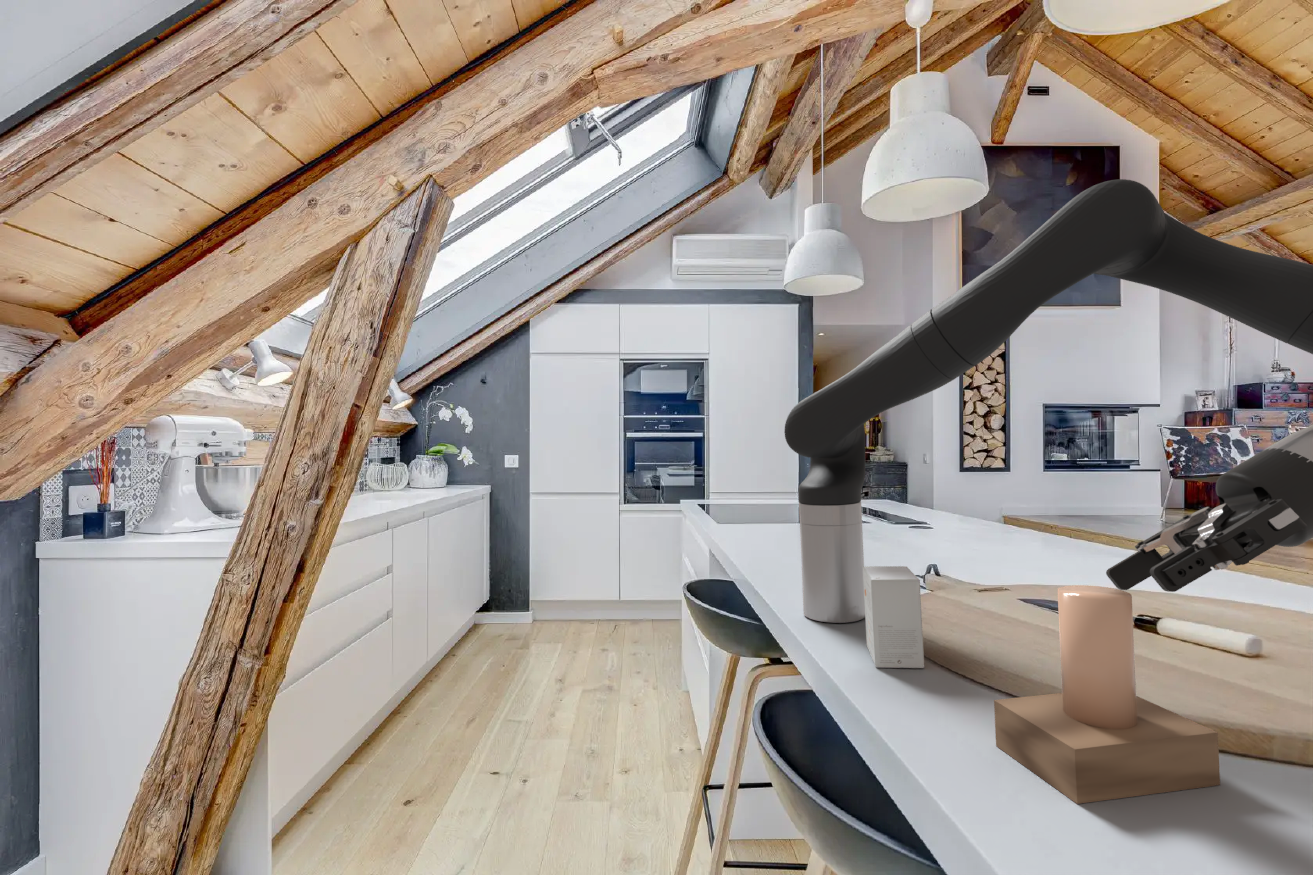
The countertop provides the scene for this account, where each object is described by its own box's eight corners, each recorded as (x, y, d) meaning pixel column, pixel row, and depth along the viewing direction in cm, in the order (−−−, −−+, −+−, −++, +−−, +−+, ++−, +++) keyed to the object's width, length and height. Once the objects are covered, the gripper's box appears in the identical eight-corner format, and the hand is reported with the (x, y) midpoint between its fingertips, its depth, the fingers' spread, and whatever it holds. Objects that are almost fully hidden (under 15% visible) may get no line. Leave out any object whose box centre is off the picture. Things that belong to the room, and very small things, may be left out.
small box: (925, 670, 74) (921, 579, 74) (874, 668, 75) (870, 579, 75) (911, 647, 82) (908, 565, 82) (866, 646, 83) (862, 565, 83)
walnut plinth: (996, 745, 56) (993, 699, 56) (1118, 731, 57) (1116, 686, 57) (1077, 803, 47) (1074, 749, 47) (1220, 784, 48) (1217, 732, 48)
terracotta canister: (1048, 705, 54) (1043, 587, 54) (1101, 699, 55) (1096, 583, 55) (1096, 731, 49) (1090, 602, 49) (1154, 725, 50) (1148, 597, 50)
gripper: (1220, 461, 63) (1074, 549, 64) (1330, 429, 49) (1141, 540, 51) (1281, 526, 60) (1128, 615, 62) (1414, 511, 47) (1214, 625, 48)
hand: (1134, 581), depth 56 cm, fingers open, 8 cm apart
